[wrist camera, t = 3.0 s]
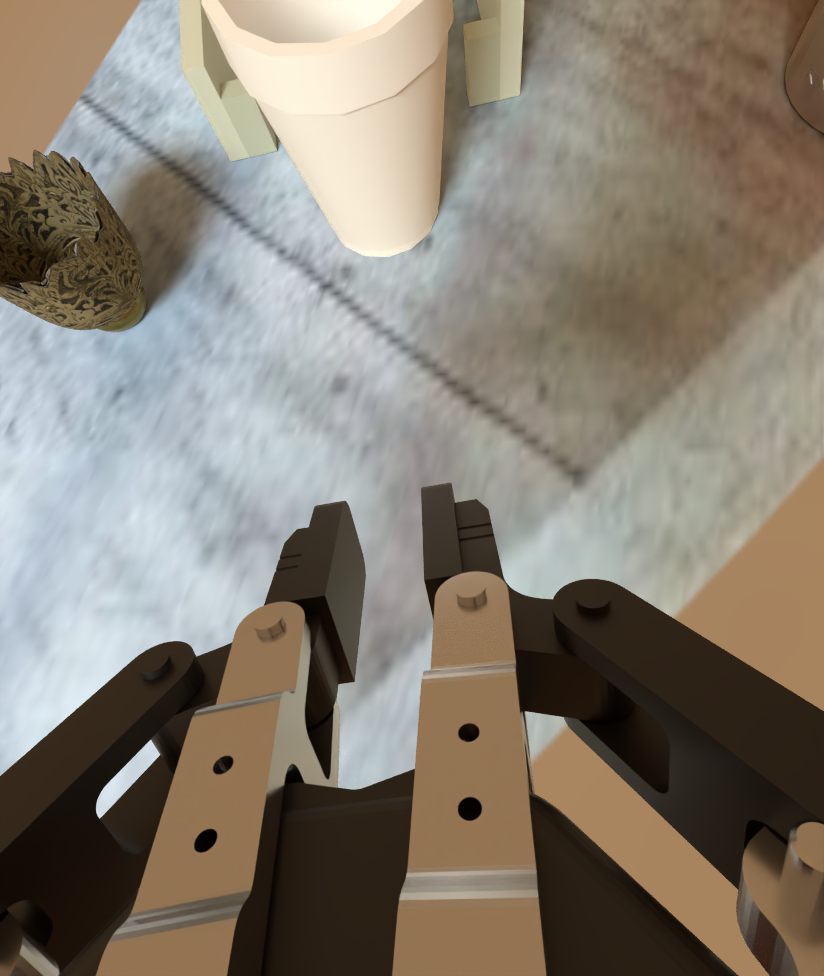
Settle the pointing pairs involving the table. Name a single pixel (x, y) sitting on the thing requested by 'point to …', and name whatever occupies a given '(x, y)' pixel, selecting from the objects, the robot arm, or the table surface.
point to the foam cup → (350, 104)
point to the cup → (66, 248)
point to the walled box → (247, 128)
